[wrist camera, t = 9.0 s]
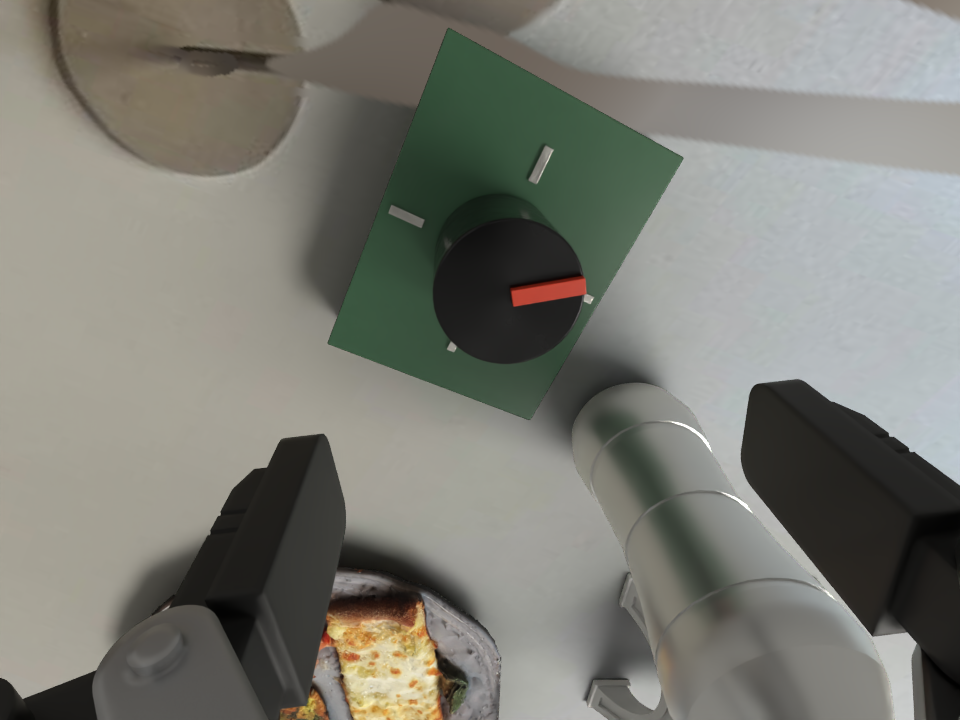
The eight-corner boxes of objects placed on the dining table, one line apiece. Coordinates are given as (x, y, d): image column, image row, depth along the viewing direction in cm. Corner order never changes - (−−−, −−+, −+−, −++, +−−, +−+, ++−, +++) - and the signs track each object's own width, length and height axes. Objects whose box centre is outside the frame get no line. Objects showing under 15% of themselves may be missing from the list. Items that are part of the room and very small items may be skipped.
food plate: (105, 545, 31) (66, 595, 28) (504, 535, 32) (511, 581, 29) (193, 785, 42) (173, 841, 38) (490, 769, 43) (493, 821, 40)
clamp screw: (447, 322, 23) (448, 380, 18) (423, 205, 21) (417, 235, 16) (561, 303, 23) (592, 355, 18) (550, 183, 21) (582, 207, 16)
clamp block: (447, 36, 21) (448, 26, 18) (656, 151, 23) (686, 158, 20) (339, 318, 26) (326, 345, 23) (521, 390, 28) (530, 422, 25)
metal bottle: (628, 343, 27) (986, 808, 9) (704, 418, 30) (1109, 907, 12) (538, 423, 29) (690, 943, 11) (616, 488, 31) (848, 1005, 13)
